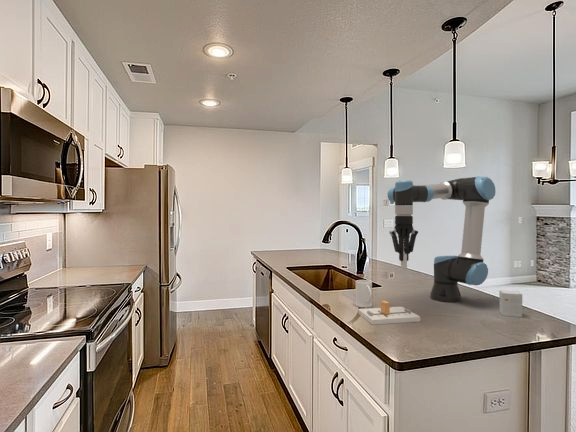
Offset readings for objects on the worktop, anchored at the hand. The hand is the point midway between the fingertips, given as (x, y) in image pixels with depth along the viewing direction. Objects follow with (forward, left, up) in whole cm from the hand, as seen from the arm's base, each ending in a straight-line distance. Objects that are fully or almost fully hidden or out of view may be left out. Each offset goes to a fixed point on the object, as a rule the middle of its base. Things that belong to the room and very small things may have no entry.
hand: (403, 268), depth 157 cm
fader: (+9, 0, -20) cm, 22 cm away
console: (+7, -1, -22) cm, 23 cm away
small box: (-49, +6, -22) cm, 54 cm away
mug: (+10, -20, -22) cm, 32 cm away
